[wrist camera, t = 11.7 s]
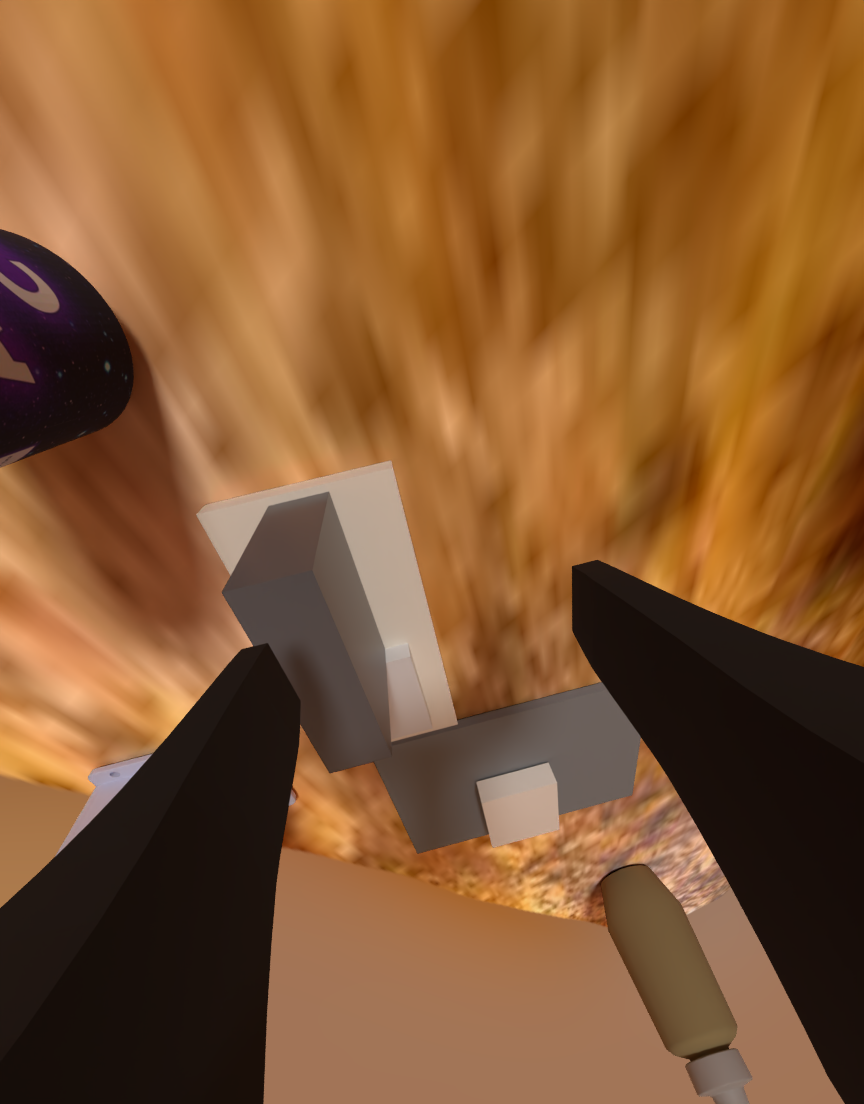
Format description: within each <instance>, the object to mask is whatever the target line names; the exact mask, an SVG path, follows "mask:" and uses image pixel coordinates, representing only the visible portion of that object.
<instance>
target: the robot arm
mask: <svg viewBox="0 0 864 1104" xmlns="http://www.w3.org/2000/svg"><path fill="white" fill-rule="evenodd" d="M572 631H573V633H574V635H575V637H576V639H577V641H578V643H579V645H580V647H581V648H582V650H583V652H584V654H585V656H586V658H587V659H588V661H589V663H590V665H591V667H592V668H593V670H594V671H595V673H596V674H597V676H598V677H599V679H600V680H601V681H602V683H603V684H604V686H605V687H606V689H607V690H608V691H609V693H610V694H611V696H612V697H613V699H614V700H615V701H616V703H617V704H618V706H619V707H620V708H621V710H622V711H623V713H624V714H625V715H626V717H627V718H628V720H629V721H630V722H631V724H632V725H633V727H634V728H635V729H636V731H637V732H638V734H639V735H640V736H641V738H642V739H643V741H644V742H645V744H646V745H647V746H648V748H649V749H650V751H651V752H652V753H653V755H654V756H655V758H656V759H657V761H658V762H659V764H660V765H661V767H662V768H663V770H664V771H665V773H666V775H667V776H668V778H669V779H670V781H671V783H672V784H673V786H674V788H675V790H676V791H677V793H678V795H679V796H680V798H681V800H682V802H683V803H684V805H685V807H686V808H687V810H688V812H689V813H690V815H691V817H692V819H693V820H694V822H695V824H696V825H697V827H698V829H699V831H700V833H701V834H702V836H703V838H704V840H705V841H706V843H707V845H708V847H709V849H710V850H711V852H712V854H713V856H714V857H715V859H716V861H717V863H718V865H719V866H720V868H721V870H722V872H723V874H724V875H725V877H726V879H727V881H728V882H729V884H730V886H731V888H732V890H733V892H734V894H735V896H736V897H737V899H738V901H739V903H740V905H741V907H742V909H743V910H744V912H745V914H746V916H747V918H748V920H749V922H750V924H751V925H752V927H753V929H754V931H755V933H756V935H757V937H758V939H759V940H760V942H761V944H762V946H763V948H764V950H765V952H766V954H767V956H768V957H769V960H770V961H771V963H772V965H773V967H774V969H775V971H776V973H777V975H778V977H779V979H780V981H781V983H782V985H783V987H784V989H785V991H786V993H787V995H788V997H789V999H790V1001H791V1003H792V1005H793V1007H794V1009H795V1011H796V1013H797V1015H798V1017H799V1019H800V1020H801V1023H802V1025H803V1026H804V1028H805V1030H806V1032H807V1035H808V1037H809V1039H810V1041H811V1043H812V1045H813V1047H814V1049H815V1051H816V1053H817V1055H818V1057H819V1059H820V1061H821V1063H822V1065H823V1067H824V1069H825V1072H826V1074H827V1076H828V1077H829V1079H830V1081H831V1082H832V1084H833V1085H834V1087H835V1088H836V1090H837V1092H838V1093H839V1095H840V1097H841V1098H842V1100H843V1101H844V1103H845V1104H864V667H862V666H859V665H856V664H852V663H849V662H846V661H843V660H840V659H836V658H833V657H830V656H828V655H825V654H822V653H819V652H816V651H813V650H810V649H807V648H804V647H801V646H798V645H795V644H793V643H790V642H787V641H784V640H781V639H778V638H776V637H773V636H770V635H768V634H765V633H762V632H760V631H757V630H754V629H752V628H749V627H747V626H744V625H742V624H740V623H737V622H735V621H732V620H730V619H727V618H725V617H722V616H720V615H717V614H715V613H713V612H710V611H708V610H706V609H703V608H701V607H699V606H696V605H694V604H692V603H690V602H687V601H685V600H683V599H681V598H679V597H676V596H674V595H672V594H670V593H668V592H666V591H663V590H661V589H659V588H657V587H655V586H653V585H651V584H648V583H646V582H644V581H642V580H640V579H638V578H636V577H634V576H632V575H630V574H627V573H625V572H623V571H621V570H619V569H617V568H615V567H612V566H610V565H608V564H606V563H603V562H601V561H599V560H595V561H591V562H587V563H583V564H579V565H575V566H572ZM300 711H301V700H300V699H299V697H298V695H297V693H296V692H295V690H294V688H293V686H292V685H291V683H290V681H289V679H288V677H287V676H286V674H285V672H284V670H283V669H282V667H281V665H280V663H279V662H278V660H277V658H276V656H275V655H274V653H273V651H272V649H271V648H270V646H269V644H268V643H265V644H261V645H257V646H253V647H249V648H245V649H241V651H240V652H239V653H238V654H237V655H236V656H235V657H234V658H233V659H232V660H231V662H230V663H229V664H228V665H227V666H226V667H225V669H224V670H223V671H222V672H221V673H220V675H219V676H218V677H217V678H216V679H215V681H214V682H213V683H212V684H211V686H210V687H209V688H208V689H207V690H206V692H205V693H204V694H203V695H202V696H201V698H200V699H199V700H198V701H197V703H196V704H195V705H194V706H193V707H192V708H191V710H190V711H189V712H188V713H187V714H186V716H185V717H184V718H183V719H182V720H181V722H180V723H179V724H178V725H177V726H176V728H175V729H174V730H173V731H172V732H171V734H170V735H169V736H168V737H167V738H166V739H165V741H164V742H163V743H162V744H161V745H160V746H159V747H158V748H157V750H156V751H155V752H154V753H153V754H150V755H146V756H142V757H138V758H134V759H130V760H126V761H122V762H119V763H115V764H111V765H107V766H103V767H99V768H96V769H93V770H92V771H91V773H90V774H89V776H88V779H89V781H90V782H92V783H93V784H94V785H95V786H96V787H95V789H94V791H93V793H92V794H91V796H90V798H89V800H88V801H87V803H86V805H85V806H84V808H83V810H82V811H81V813H80V815H79V817H78V818H77V820H76V822H75V823H74V825H73V827H72V828H71V830H70V832H69V834H68V835H67V837H66V839H65V841H64V842H63V844H62V846H61V847H60V849H59V851H58V852H57V854H56V856H55V857H54V858H53V859H52V860H51V861H50V862H49V864H47V865H46V866H45V867H44V868H43V869H42V870H41V871H40V872H39V873H38V874H37V875H36V876H35V877H34V878H32V879H31V880H30V881H29V882H28V883H27V884H26V885H25V886H24V887H23V888H22V889H21V890H19V891H18V892H17V893H16V894H15V895H14V896H13V897H12V898H11V899H10V900H9V901H8V902H7V903H5V904H4V905H3V906H2V907H1V908H0V1104H263V1098H264V1074H265V1073H264V1072H265V1048H266V1046H265V1045H266V1023H267V1003H268V988H269V971H270V956H271V941H272V929H273V917H274V905H275V892H276V882H277V874H278V867H279V860H280V854H281V848H282V842H283V836H284V831H285V825H286V819H287V813H288V807H289V805H292V804H294V803H295V801H296V794H295V793H294V791H293V790H292V784H293V779H294V772H295V766H296V760H297V754H298V748H299V736H300Z"/></svg>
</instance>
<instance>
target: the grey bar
mask: <svg viewBox="0 0 864 1104" xmlns="http://www.w3.org/2000/svg"><path fill="white" fill-rule="evenodd" d="M222 594H223V596H224V597H225V599H226V601H227V602H228V604H229V606H230V607H231V609H232V611H233V612H234V614H235V616H236V617H237V619H238V621H239V622H240V624H241V626H242V627H243V629H244V631H245V633H246V634H247V636H248V638H249V639H250V641H251V643H252V644H253V646H257V645H261V644H265V643H268V644H269V646H270V648H271V649H272V651H273V653H274V655H275V656H276V658H277V660H278V662H279V663H280V665H281V667H282V669H283V670H284V672H285V674H286V676H287V677H288V679H289V681H290V683H291V685H292V686H293V688H294V690H295V692H296V693H297V695H298V697H299V699H300V700H301V711H300V724H301V726H302V728H303V729H304V731H305V733H306V734H307V736H308V738H309V740H310V741H311V743H312V745H313V746H314V748H315V750H316V751H317V753H318V755H319V756H320V758H321V760H322V761H323V763H324V765H325V766H326V768H327V770H328V771H329V773H333V772H337V771H341V770H345V769H348V768H352V767H356V766H360V765H363V764H367V763H371V762H375V761H379V760H382V759H386V758H390V757H392V746H391V739H395V738H398V737H402V736H406V735H410V734H414V733H417V732H421V731H425V730H429V729H433V728H432V722H431V716H430V712H429V709H428V705H427V702H426V699H425V696H424V692H423V689H422V686H421V683H420V679H419V676H418V673H417V670H416V666H415V663H414V660H413V657H412V654H411V650H410V647H409V644H408V643H406V644H402V645H398V646H394V647H390V648H386V649H385V647H384V644H383V642H382V639H381V636H380V633H379V630H378V628H377V625H376V622H375V619H374V616H373V614H372V611H371V608H370V605H369V602H368V599H367V597H366V594H365V591H364V588H363V585H362V583H361V580H360V577H359V574H358V571H357V568H356V566H355V563H354V560H353V557H352V554H351V552H350V549H349V546H348V543H347V540H346V538H345V535H344V532H343V529H342V526H341V523H340V521H339V518H338V515H337V512H336V509H335V507H334V504H333V501H332V498H331V495H330V493H329V492H325V493H320V494H316V495H312V496H308V497H304V498H300V499H295V500H291V501H287V502H283V503H279V504H275V505H270V506H268V508H267V509H266V511H265V513H264V515H263V517H262V519H261V521H260V522H259V524H258V526H257V528H256V530H255V532H254V534H253V535H252V537H251V539H250V541H249V543H248V545H247V546H246V548H245V550H244V552H243V554H242V556H241V558H240V559H239V561H238V563H237V565H236V567H235V569H234V571H233V572H232V574H231V576H230V578H229V580H228V582H227V584H226V585H225V587H224V589H223V591H222Z"/></svg>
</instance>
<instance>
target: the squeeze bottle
mask: <svg viewBox="0 0 864 1104" xmlns="http://www.w3.org/2000/svg"><path fill="white" fill-rule="evenodd" d="M601 889H602V895H603V901H604V907H605V913H606V919H607V925H608V931H609V933H610V935H611V937H612V939H613V941H614V943H615V945H616V947H617V950H618V952H619V954H620V955H621V957H622V960H623V962H624V964H625V966H626V968H627V970H628V972H629V974H630V976H631V978H632V980H633V982H634V984H635V986H636V988H637V990H638V992H639V994H640V996H641V998H642V1001H643V1003H644V1005H645V1007H646V1009H647V1011H648V1013H649V1015H650V1017H651V1019H652V1021H653V1023H654V1025H655V1027H656V1029H657V1031H658V1033H659V1035H660V1037H661V1039H662V1041H663V1044H664V1045H665V1047H666V1049H667V1050H668V1051H669V1052H671V1053H672V1054H673V1055H675V1056H679V1057H682V1058H686V1059H690V1061H691V1062H689V1063H687V1064H686V1066H685V1067H686V1070H687V1072H688V1074H689V1076H690V1079H691V1081H692V1083H693V1085H694V1088H695V1090H696V1092H697V1095H699V1096H711V1097H712V1098H713V1100H714V1102H715V1103H716V1104H749V1101H748V1099H747V1096H746V1093H745V1091H744V1085H745V1084H747V1083H748V1082H749V1081H751V1080H752V1076H751V1074H750V1072H749V1070H748V1068H747V1066H746V1064H745V1062H744V1060H743V1058H742V1057H741V1055H740V1053H739V1051H738V1049H734V1048H733V1049H729V1045H730V1044H731V1042H732V1041H733V1039H734V1038H735V1036H736V1031H737V1024H736V1021H735V1019H734V1017H733V1015H732V1013H731V1011H730V1008H729V1006H728V1004H727V1002H726V1000H725V998H724V996H723V994H722V991H721V989H720V987H719V985H718V983H717V981H716V978H715V976H714V974H713V972H712V970H711V968H710V966H709V963H708V961H707V959H706V957H705V955H704V953H703V950H702V948H701V946H700V944H699V942H698V940H697V937H696V935H695V933H694V931H693V929H692V927H691V925H690V923H689V920H688V918H687V916H686V914H685V912H684V909H683V907H682V905H681V903H680V902H679V901H678V900H677V899H676V898H675V896H674V895H673V894H672V893H671V892H670V891H669V890H668V888H667V887H666V886H665V885H664V884H663V883H662V882H661V880H660V879H659V878H658V877H657V876H656V875H655V874H654V872H653V871H652V870H651V869H650V868H649V867H647V866H643V865H637V866H630V867H626V868H623V869H620V870H618V871H616V872H614V873H612V874H610V875H609V876H608V877H606V878H605V879H604V880H603V881H602V883H601Z"/></svg>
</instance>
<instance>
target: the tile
mask: <svg viewBox="0 0 864 1104" xmlns="http://www.w3.org/2000/svg"><path fill="white" fill-rule="evenodd" d="M476 783H477V787H478V791H479V795H480V799H481V803H482V807H483V811H484V815H485V819H486V823H487V827H488V831H489V835H490V839H491V843H492V847H493V848H494V847H498V846H501V845H505V844H509V843H512V842H516V841H520V840H523V839H527V838H530V837H534V836H538V835H541V834H545V833H549V832H552V831H556V830H559V812H558V791H557V781H556V779H555V777H554V774H553V772H552V770H551V767H550V765H549V763H545V764H541V765H537V766H533V767H530V768H526V769H522V770H519V771H515V772H511V773H507V774H504V775H500V776H496V777H493V778H489V779H485V780H481V781H478V782H476Z"/></svg>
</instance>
